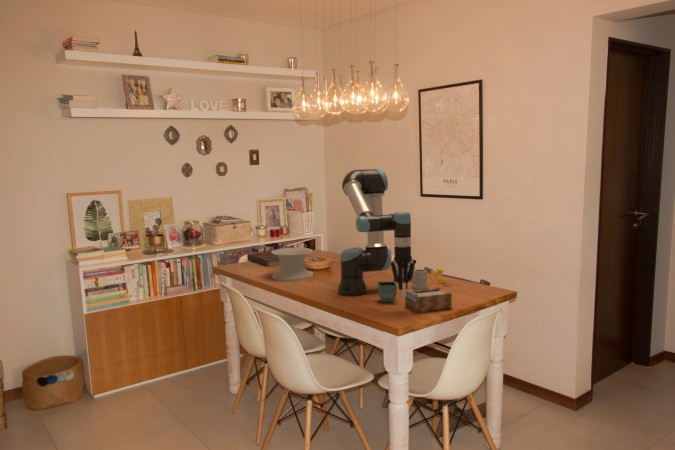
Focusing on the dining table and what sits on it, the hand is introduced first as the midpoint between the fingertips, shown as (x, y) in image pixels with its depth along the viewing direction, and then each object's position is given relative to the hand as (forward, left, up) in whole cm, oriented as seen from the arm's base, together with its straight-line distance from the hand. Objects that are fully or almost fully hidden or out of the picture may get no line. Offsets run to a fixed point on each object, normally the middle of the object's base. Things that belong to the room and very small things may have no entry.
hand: (403, 296), depth 249 cm
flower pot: (0, +18, -7) cm, 19 cm away
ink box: (+25, +54, -7) cm, 60 cm away
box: (+13, 0, -7) cm, 15 cm away
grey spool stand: (-30, +92, -7) cm, 97 cm away
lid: (+13, 0, -2) cm, 13 cm away
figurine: (+44, +40, -7) cm, 60 cm away
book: (-33, +145, -8) cm, 149 cm away
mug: (+26, +36, -7) cm, 45 cm away
